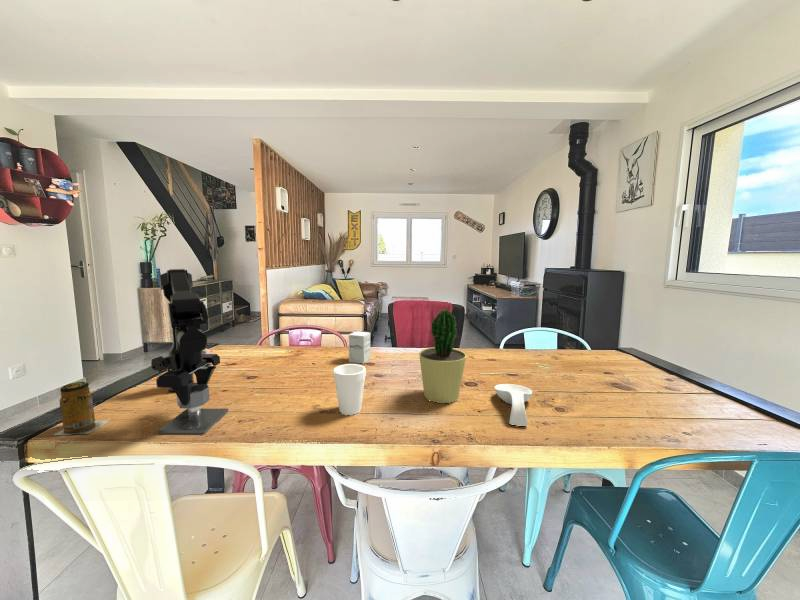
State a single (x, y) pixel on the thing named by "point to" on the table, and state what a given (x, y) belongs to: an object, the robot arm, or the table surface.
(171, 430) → the piston post
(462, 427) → the table surface
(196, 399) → the octagonal metal collar
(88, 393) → the condiment
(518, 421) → the spoon rest
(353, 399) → the foam cup
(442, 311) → the potted cactus
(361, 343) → the supplement box
